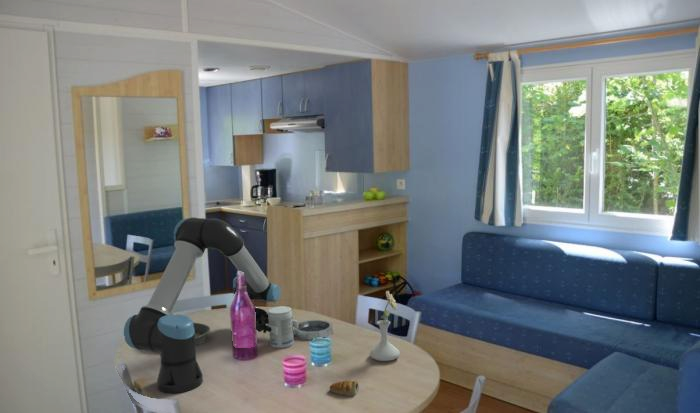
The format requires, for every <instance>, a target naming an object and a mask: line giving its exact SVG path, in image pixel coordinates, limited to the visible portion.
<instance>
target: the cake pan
mask: <svg viewBox="0 0 700 413" xmlns="http://www.w3.org/2000/svg"><path fill="white" fill-rule="evenodd" d="M193 325H194V329H195V334H198V336H195V347H197V346H199V345H200V346H201V344H203V343H205V341H206V340H207V336H208V333H209V332H210V330H211V328H210V326H208V325H207V324H205V323H200V322H193Z"/></svg>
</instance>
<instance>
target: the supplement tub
mask: <svg viewBox="0 0 700 413" xmlns="http://www.w3.org/2000/svg"><path fill="white" fill-rule="evenodd" d="M267 311H268V312H267V314H268V320H269V325H272V326H275V327H277V328H278V334H277V335H276V334H273V333H271V332H269V343H270V346H271V347H272V348H274V349H285V348H288V347H291V346H293V345H294V341H295V340H294V338H295V336H294V327H293V322H292V316H293V313H292V308H291V307H289V306H284V305H283V306H274V307H271V308H269V309H268V310H267Z"/></svg>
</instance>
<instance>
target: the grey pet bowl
mask: <svg viewBox="0 0 700 413" xmlns="http://www.w3.org/2000/svg"><path fill="white" fill-rule="evenodd" d="M298 327H299V328H295V327H293V336H294V338H297V339H299V340H300V339H301V340H305V339H306V340H309V341H310V339H313V338H317V337H326V338H328V337H330V336H331V335H333V334H332V333H334V332H333V330H334V329H333V323H332V322H330V321H328V320H321V319H309V320H304V321H300V322H299V321H298ZM330 334H331V335H330ZM329 335H330V336H329Z"/></svg>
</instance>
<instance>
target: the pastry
mask: <svg viewBox="0 0 700 413" xmlns="http://www.w3.org/2000/svg"><path fill="white" fill-rule="evenodd" d="M359 389H360V385H359V382H358V381H357V380H350V379H346V380H340V381H338V382H334V383H332V384H331V385H330V386H329V390H330V391H331V393H333V394H337V395H339V396H348V397H355V396H356V395H357V394H358V391H359Z"/></svg>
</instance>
